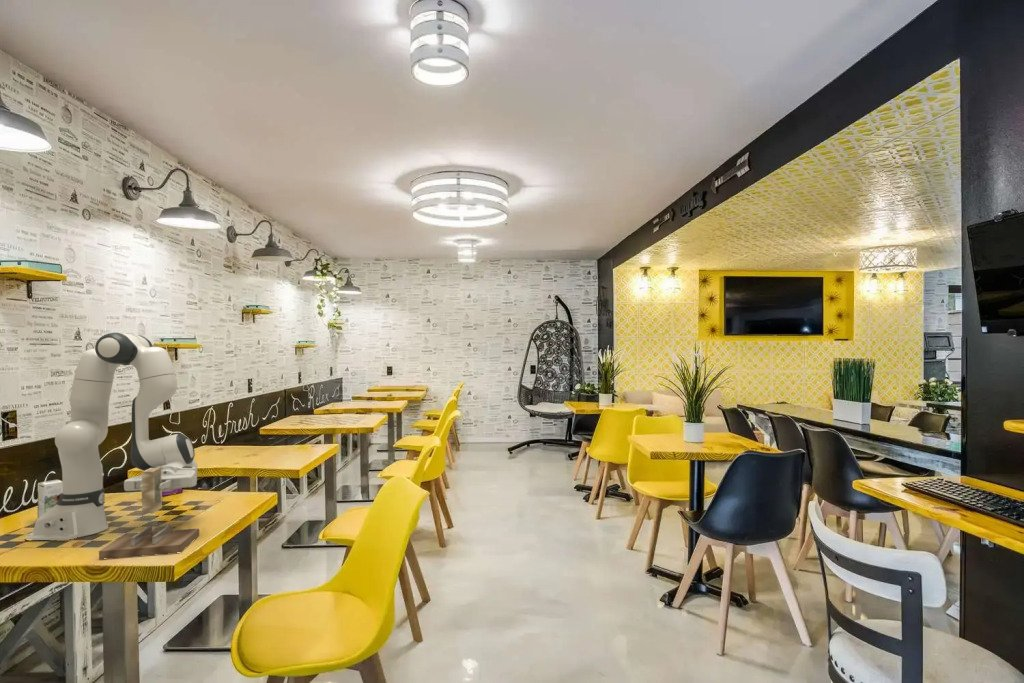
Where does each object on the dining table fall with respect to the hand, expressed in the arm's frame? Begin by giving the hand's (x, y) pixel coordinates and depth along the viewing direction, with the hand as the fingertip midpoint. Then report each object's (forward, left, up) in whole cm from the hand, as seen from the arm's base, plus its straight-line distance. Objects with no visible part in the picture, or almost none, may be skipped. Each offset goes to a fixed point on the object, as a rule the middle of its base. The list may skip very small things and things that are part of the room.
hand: (150, 487), depth 172 cm
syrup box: (-51, +42, -19) cm, 69 cm away
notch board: (0, +1, -19) cm, 19 cm away
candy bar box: (-23, +72, -19) cm, 78 cm away
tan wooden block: (0, +1, -7) cm, 8 cm away
